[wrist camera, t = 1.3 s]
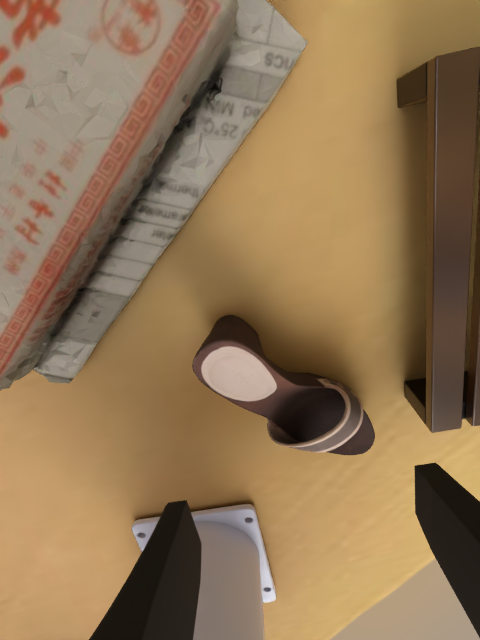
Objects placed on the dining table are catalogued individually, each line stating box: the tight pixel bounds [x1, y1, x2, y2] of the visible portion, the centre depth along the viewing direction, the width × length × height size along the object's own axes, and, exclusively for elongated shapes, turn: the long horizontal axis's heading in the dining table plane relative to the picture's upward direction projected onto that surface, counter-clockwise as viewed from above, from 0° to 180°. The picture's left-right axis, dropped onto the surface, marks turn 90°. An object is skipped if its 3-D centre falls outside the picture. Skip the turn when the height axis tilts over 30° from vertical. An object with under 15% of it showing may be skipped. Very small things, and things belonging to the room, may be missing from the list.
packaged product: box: [0, 0, 308, 391], centre depth 13 cm, size 18×5×10 cm
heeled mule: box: [192, 315, 375, 455], centre depth 17 cm, size 4×11×4 cm, turn 47°
